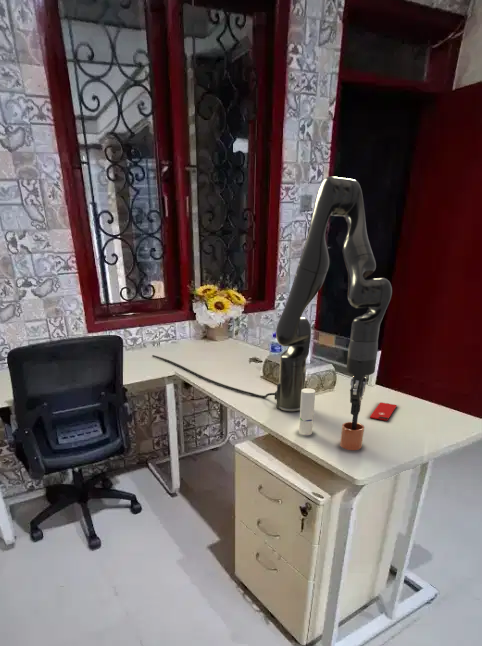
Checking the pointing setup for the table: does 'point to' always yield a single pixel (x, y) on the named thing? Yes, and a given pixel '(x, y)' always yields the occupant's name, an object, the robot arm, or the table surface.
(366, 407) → the table surface
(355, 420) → the stylus
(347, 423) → the pen cup
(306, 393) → the tube
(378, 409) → the electronic device
